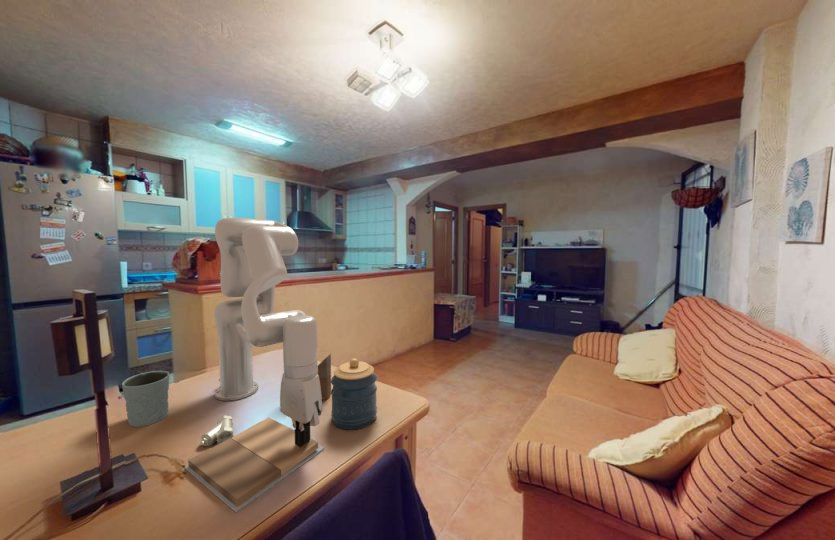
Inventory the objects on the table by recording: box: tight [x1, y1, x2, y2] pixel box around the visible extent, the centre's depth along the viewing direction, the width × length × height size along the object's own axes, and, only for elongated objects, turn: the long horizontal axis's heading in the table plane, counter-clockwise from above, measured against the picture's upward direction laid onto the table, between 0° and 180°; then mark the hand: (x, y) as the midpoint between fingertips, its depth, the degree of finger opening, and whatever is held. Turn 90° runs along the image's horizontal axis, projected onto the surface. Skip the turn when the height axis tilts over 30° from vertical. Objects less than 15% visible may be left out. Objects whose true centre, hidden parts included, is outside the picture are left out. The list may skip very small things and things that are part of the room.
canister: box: [330, 357, 378, 430], centre depth 88 cm, size 13×13×18 cm
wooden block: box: [318, 353, 332, 400], centre depth 100 cm, size 4×11×18 cm, turn 83°
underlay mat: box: [184, 444, 325, 513], centre depth 71 cm, size 21×21×1 cm
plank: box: [231, 417, 319, 476], centre depth 75 cm, size 20×10×2 cm, turn 59°
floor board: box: [187, 438, 280, 507], centre depth 67 cm, size 20×9×2 cm, turn 58°
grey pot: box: [121, 370, 170, 427], centre depth 87 cm, size 10×10×12 cm
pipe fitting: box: [200, 415, 234, 447], centre depth 79 cm, size 8×4×7 cm
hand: (302, 442), depth 73 cm, fingers closed
